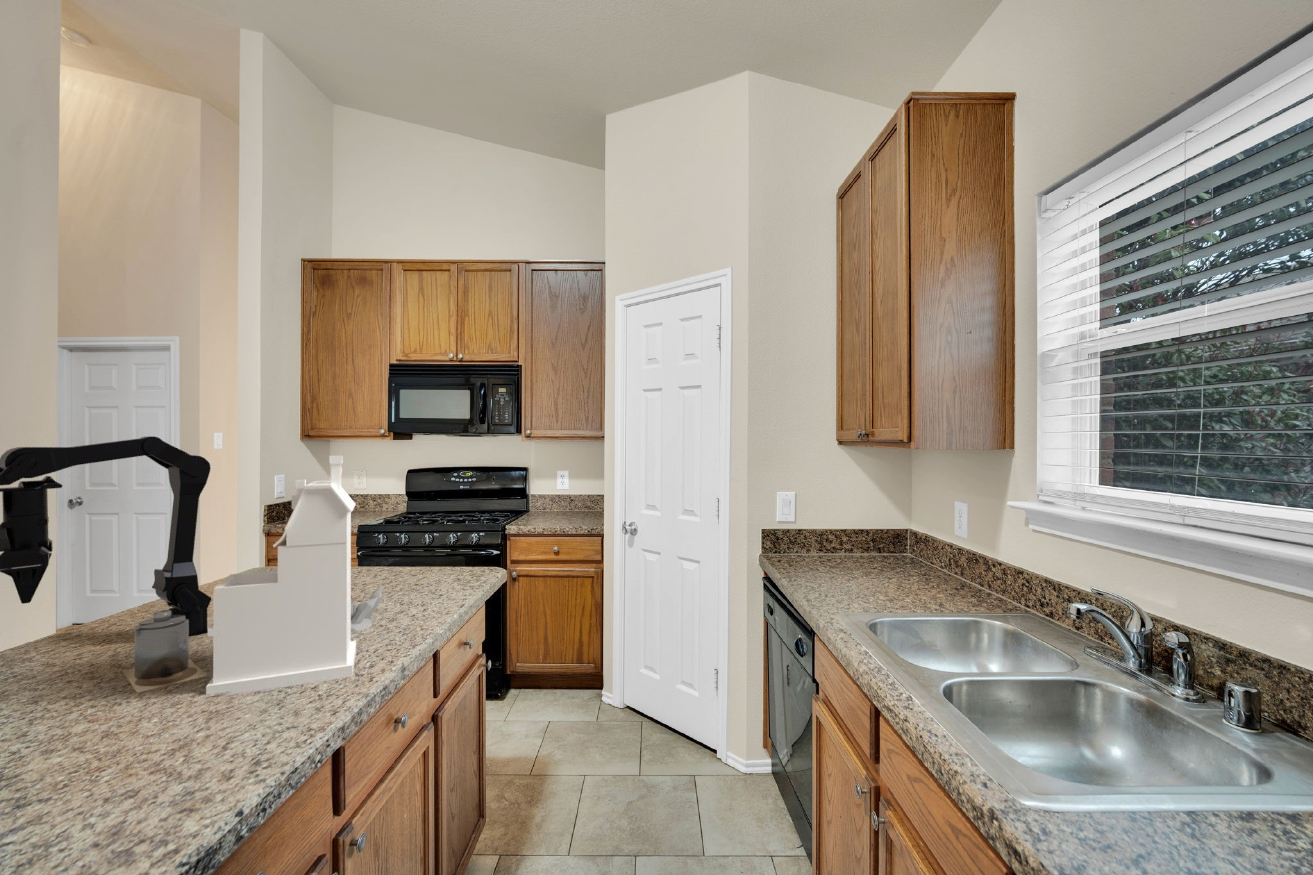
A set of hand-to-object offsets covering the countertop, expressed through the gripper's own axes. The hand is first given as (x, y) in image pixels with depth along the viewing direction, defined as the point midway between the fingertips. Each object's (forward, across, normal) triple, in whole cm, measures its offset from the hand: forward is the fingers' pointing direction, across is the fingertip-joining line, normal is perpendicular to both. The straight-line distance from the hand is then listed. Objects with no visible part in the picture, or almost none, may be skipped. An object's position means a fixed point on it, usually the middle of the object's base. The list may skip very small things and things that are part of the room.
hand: (27, 598), depth 109 cm
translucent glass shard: (+15, +13, +52) cm, 55 cm away
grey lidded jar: (+13, +19, +18) cm, 29 cm away
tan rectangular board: (+14, +21, +18) cm, 31 cm away
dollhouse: (+14, +34, +35) cm, 51 cm away
